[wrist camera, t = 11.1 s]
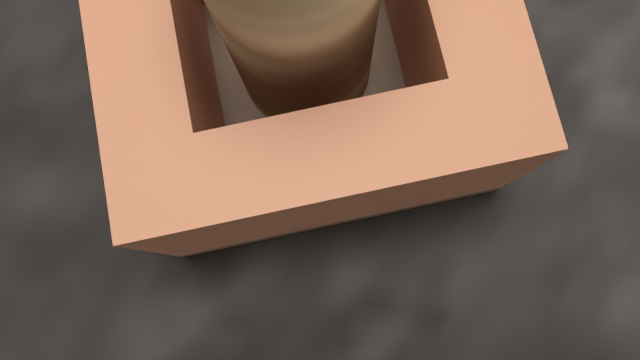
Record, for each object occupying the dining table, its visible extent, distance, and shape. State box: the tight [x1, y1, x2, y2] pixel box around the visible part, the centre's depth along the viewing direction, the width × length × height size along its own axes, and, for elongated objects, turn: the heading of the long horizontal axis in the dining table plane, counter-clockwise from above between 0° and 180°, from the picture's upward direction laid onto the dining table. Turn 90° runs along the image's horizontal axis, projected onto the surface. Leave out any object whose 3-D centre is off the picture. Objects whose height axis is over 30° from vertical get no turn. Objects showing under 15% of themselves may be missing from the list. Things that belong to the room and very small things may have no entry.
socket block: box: [79, 0, 569, 257], centre depth 16 cm, size 10×10×6 cm
